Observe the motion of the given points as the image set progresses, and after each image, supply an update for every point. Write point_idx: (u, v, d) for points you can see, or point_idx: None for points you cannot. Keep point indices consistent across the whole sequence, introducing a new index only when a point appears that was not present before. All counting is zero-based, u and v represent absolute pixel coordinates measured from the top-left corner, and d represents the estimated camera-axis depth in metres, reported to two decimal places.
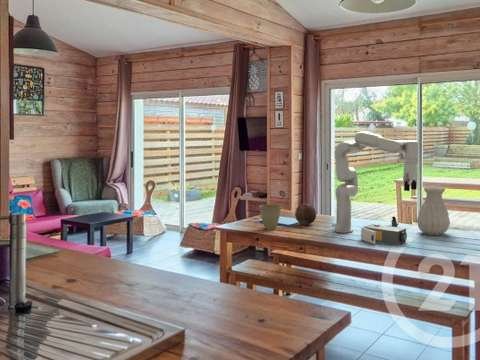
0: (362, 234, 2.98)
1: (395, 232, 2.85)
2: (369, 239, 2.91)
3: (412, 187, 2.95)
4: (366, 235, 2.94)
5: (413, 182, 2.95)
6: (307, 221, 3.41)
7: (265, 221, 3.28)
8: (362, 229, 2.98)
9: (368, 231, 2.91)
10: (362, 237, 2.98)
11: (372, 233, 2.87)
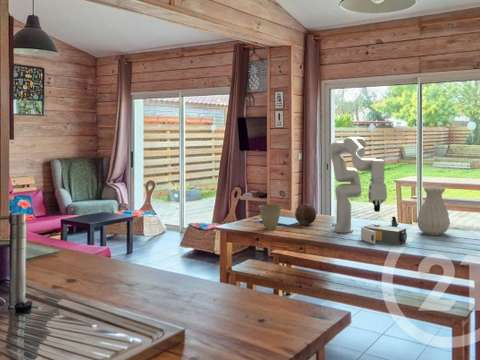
0: (362, 234, 2.98)
1: (395, 232, 2.85)
2: (369, 239, 2.91)
3: None
4: (366, 235, 2.94)
5: None
6: (307, 221, 3.41)
7: (265, 221, 3.28)
8: (362, 229, 2.98)
9: (368, 231, 2.91)
10: (362, 237, 2.98)
11: (372, 233, 2.87)
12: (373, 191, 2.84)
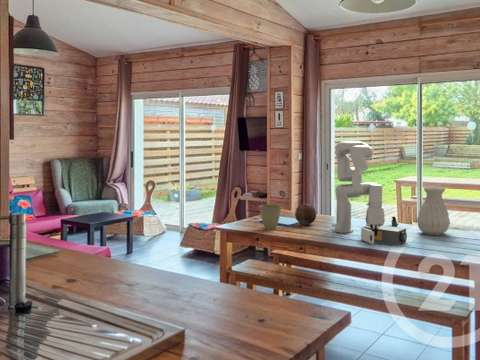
0: (362, 234, 2.98)
1: (395, 232, 2.85)
2: (368, 239, 2.90)
3: None
4: (365, 235, 2.94)
5: None
6: (307, 221, 3.41)
7: (265, 221, 3.28)
8: (362, 229, 2.98)
9: (367, 231, 2.91)
10: (362, 237, 2.98)
11: (371, 233, 2.87)
12: (370, 215, 2.85)
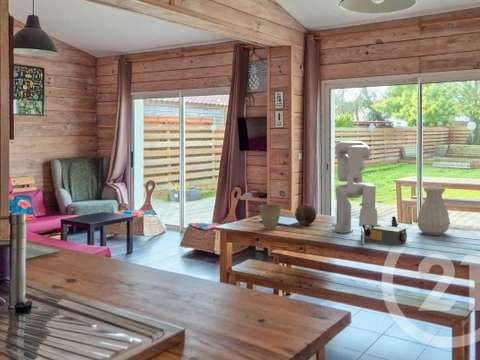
0: None
1: (395, 232, 2.85)
2: None
3: None
4: (361, 235, 2.94)
5: (367, 229, 2.88)
6: (307, 221, 3.41)
7: (265, 221, 3.28)
8: (361, 229, 2.98)
9: None
10: None
11: (362, 233, 2.87)
12: (361, 216, 2.86)
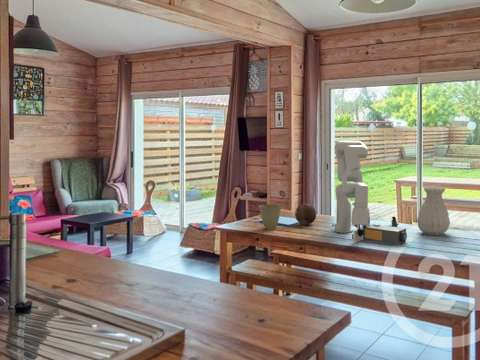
0: None
1: (395, 232, 2.85)
2: None
3: None
4: None
5: (360, 229, 2.89)
6: (307, 221, 3.41)
7: (265, 221, 3.28)
8: None
9: None
10: None
11: None
12: (352, 215, 2.88)
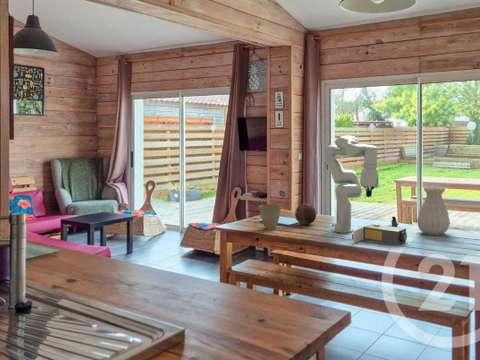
0: None
1: (395, 232, 2.85)
2: None
3: None
4: None
5: (368, 189, 2.95)
6: (307, 221, 3.41)
7: (265, 221, 3.28)
8: None
9: None
10: None
11: None
12: (361, 176, 2.95)
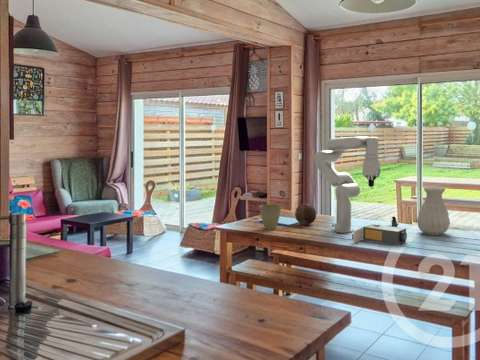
0: None
1: (395, 232, 2.85)
2: None
3: None
4: None
5: None
6: (307, 221, 3.41)
7: (265, 221, 3.28)
8: None
9: None
10: None
11: None
12: (363, 166, 3.03)
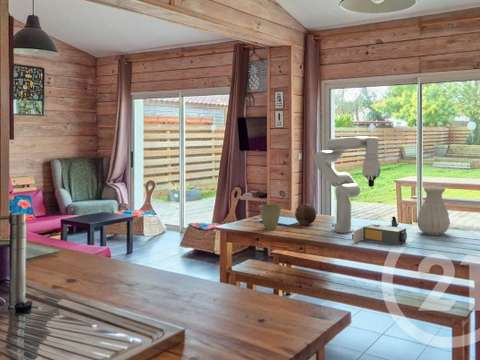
0: None
1: (395, 232, 2.85)
2: None
3: None
4: None
5: None
6: (307, 221, 3.41)
7: (265, 221, 3.28)
8: None
9: None
10: None
11: None
12: (363, 166, 3.03)
